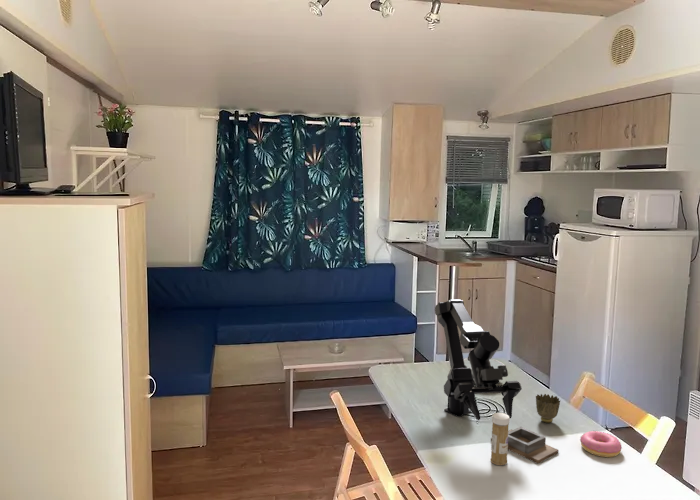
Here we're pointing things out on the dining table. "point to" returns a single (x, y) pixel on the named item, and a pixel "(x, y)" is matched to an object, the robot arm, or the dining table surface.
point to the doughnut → (600, 444)
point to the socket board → (529, 445)
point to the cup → (547, 407)
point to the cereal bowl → (492, 362)
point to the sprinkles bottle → (499, 438)
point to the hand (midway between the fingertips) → (494, 418)
